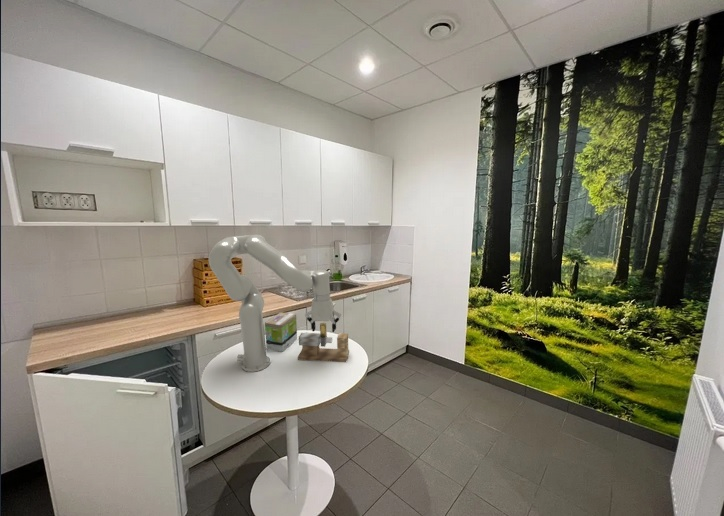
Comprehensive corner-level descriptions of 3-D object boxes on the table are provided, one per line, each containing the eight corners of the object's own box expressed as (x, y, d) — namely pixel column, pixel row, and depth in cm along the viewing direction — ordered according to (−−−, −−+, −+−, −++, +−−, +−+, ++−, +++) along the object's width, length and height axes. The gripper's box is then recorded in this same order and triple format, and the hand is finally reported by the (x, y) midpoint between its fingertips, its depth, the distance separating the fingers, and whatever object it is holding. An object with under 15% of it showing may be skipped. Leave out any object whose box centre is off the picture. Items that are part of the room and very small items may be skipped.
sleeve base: (297, 359, 142) (296, 339, 140) (303, 350, 151) (302, 330, 148) (346, 362, 139) (345, 341, 137) (349, 352, 148) (348, 332, 146)
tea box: (283, 352, 149) (281, 324, 146) (266, 349, 152) (263, 322, 149) (297, 338, 163) (296, 313, 160) (281, 336, 166) (279, 311, 163)
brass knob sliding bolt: (301, 345, 143) (300, 325, 140) (304, 341, 147) (303, 321, 145) (331, 346, 141) (330, 326, 139) (333, 342, 145) (332, 322, 143)
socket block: (337, 356, 141) (336, 338, 139) (339, 351, 146) (338, 333, 144) (346, 357, 141) (346, 338, 139) (348, 351, 146) (348, 333, 144)
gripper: (301, 299, 136) (304, 333, 139) (338, 299, 134) (340, 334, 138) (306, 293, 143) (308, 326, 147) (341, 294, 141) (343, 327, 145)
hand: (323, 330), depth 142 cm, fingers open, 9 cm apart
